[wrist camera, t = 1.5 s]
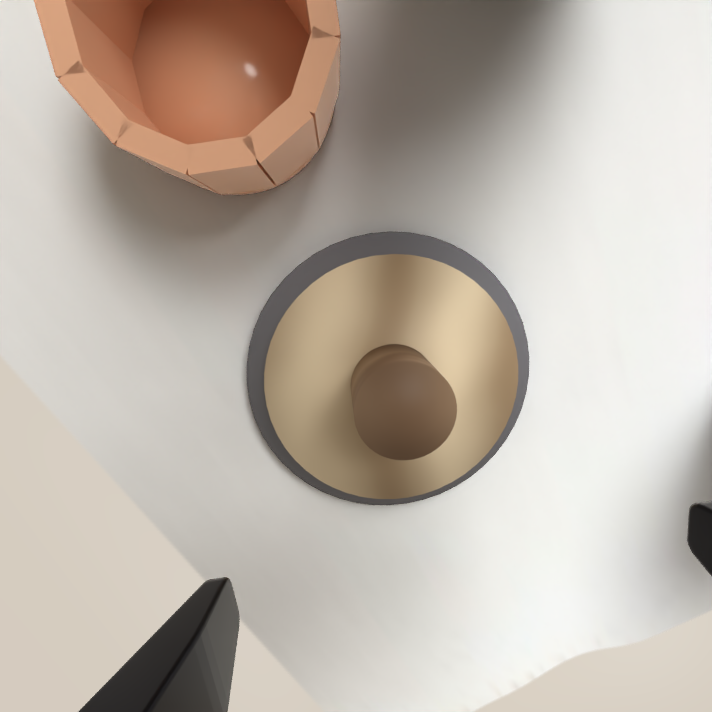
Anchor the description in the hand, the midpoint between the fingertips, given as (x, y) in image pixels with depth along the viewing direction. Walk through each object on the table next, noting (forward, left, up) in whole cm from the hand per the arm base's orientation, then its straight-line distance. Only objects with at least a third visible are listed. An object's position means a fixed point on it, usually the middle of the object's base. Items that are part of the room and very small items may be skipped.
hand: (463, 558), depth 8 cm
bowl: (+5, -14, -13) cm, 20 cm away
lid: (0, 0, -12) cm, 12 cm away
